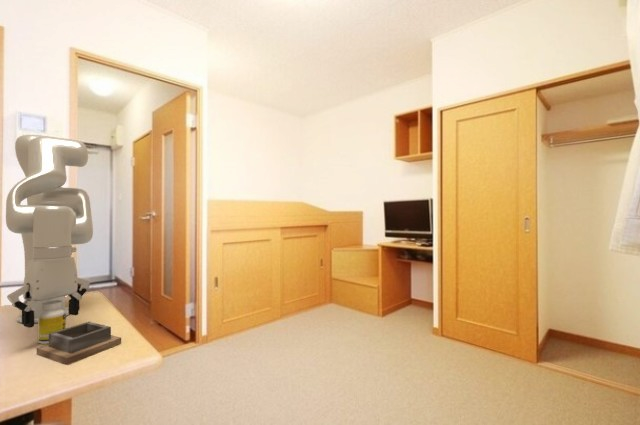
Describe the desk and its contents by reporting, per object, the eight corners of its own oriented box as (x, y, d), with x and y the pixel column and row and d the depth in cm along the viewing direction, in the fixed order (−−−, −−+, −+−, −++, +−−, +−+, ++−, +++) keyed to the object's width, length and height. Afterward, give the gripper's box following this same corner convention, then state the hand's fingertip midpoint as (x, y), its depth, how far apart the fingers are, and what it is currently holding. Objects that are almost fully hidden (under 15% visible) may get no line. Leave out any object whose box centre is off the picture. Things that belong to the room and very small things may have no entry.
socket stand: (36, 354, 73) (36, 335, 73) (91, 335, 84) (91, 318, 84) (67, 365, 68) (67, 344, 68) (121, 343, 79) (121, 325, 79)
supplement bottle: (67, 339, 81) (67, 302, 81) (39, 346, 77) (39, 306, 77) (63, 334, 84) (63, 298, 84) (36, 340, 80) (36, 302, 80)
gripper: (80, 249, 90) (80, 309, 89) (0, 257, 74) (-1, 329, 74) (97, 250, 87) (97, 312, 86) (17, 258, 71) (16, 334, 71)
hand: (52, 320), depth 80 cm, fingers open, 9 cm apart
